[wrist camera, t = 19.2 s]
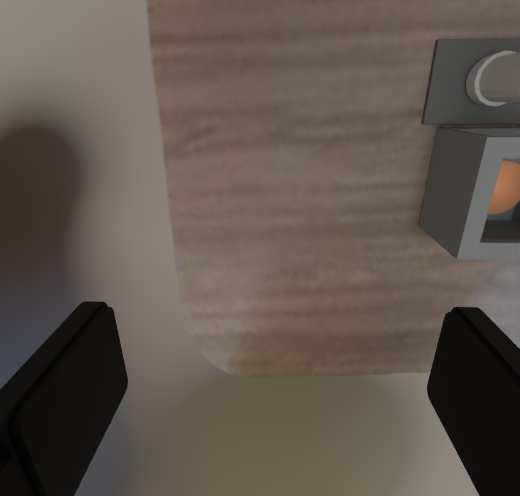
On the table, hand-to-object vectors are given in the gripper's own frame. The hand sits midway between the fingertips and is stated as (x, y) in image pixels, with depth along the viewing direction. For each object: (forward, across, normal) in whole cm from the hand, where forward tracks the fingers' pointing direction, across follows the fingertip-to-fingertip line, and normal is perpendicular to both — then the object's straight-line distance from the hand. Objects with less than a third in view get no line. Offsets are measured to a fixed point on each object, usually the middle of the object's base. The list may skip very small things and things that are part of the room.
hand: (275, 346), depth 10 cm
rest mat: (+38, -25, -8) cm, 46 cm away
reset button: (+37, -27, +3) cm, 46 cm away
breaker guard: (+38, -27, +4) cm, 47 cm away
